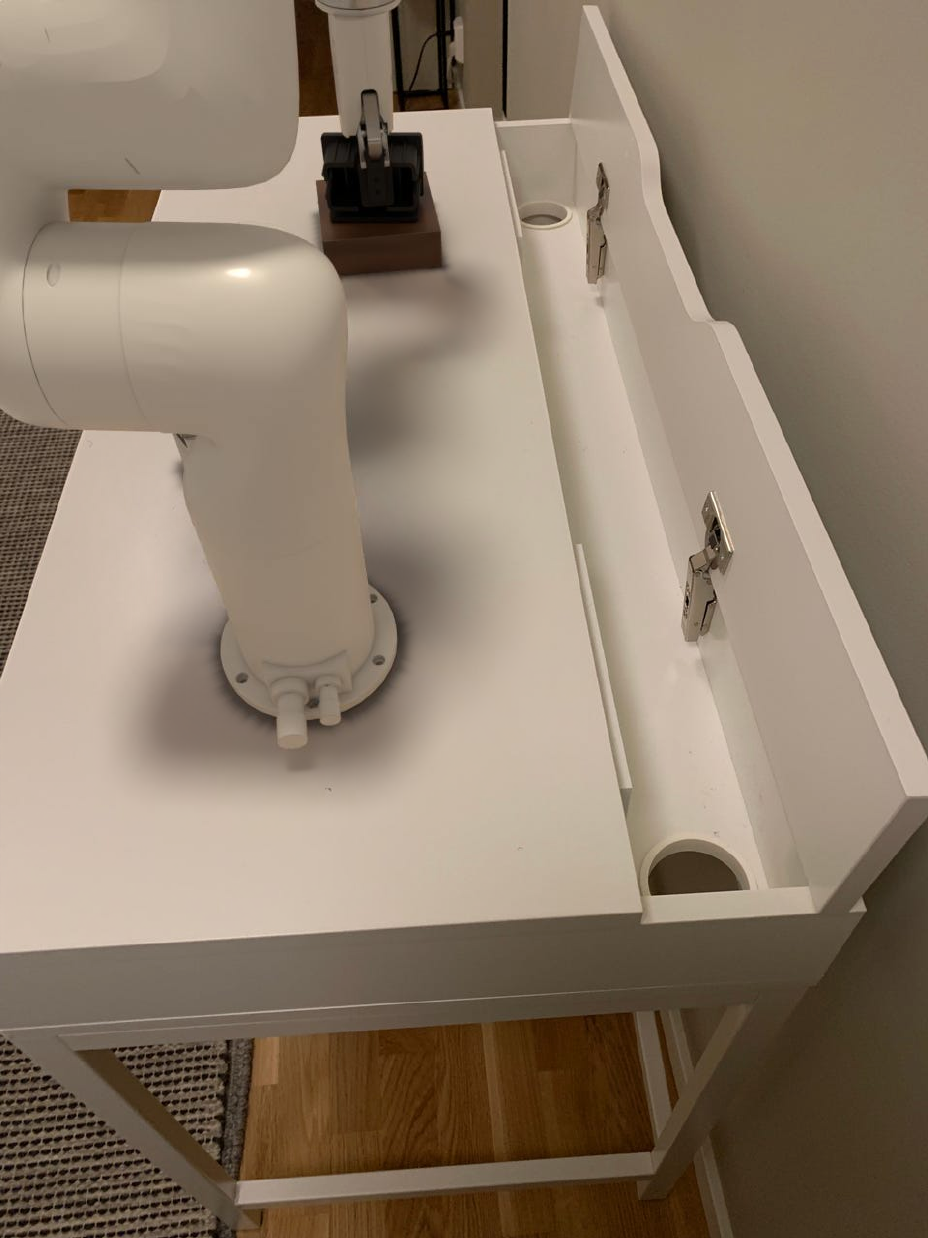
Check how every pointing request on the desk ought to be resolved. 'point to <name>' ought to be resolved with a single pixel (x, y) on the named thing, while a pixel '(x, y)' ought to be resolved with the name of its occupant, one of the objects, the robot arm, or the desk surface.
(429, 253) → the riser
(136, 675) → the desk surface
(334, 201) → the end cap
